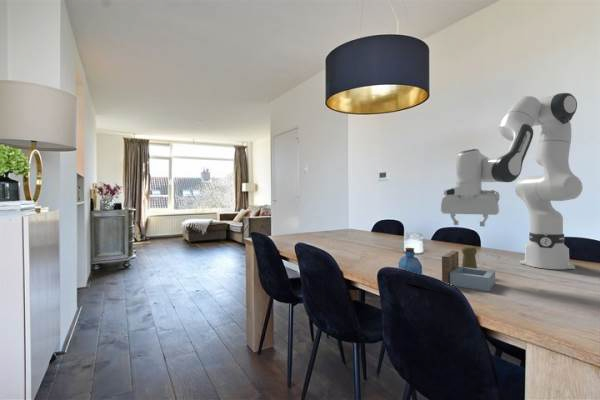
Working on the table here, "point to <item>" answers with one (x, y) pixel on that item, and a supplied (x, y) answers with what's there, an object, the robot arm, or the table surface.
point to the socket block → (473, 278)
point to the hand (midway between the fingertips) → (468, 225)
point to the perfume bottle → (410, 262)
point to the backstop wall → (449, 265)
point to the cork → (469, 257)
